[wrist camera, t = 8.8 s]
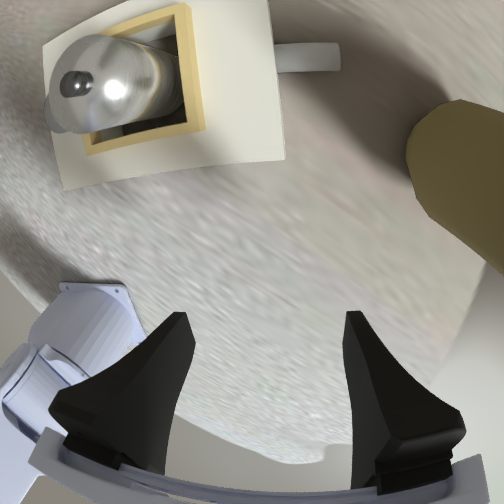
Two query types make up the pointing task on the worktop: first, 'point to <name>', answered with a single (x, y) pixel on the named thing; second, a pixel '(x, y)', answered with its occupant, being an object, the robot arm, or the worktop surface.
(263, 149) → the white holder tray
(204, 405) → the worktop surface
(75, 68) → the spout can
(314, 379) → the worktop surface
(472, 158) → the squeeze bottle
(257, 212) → the worktop surface
